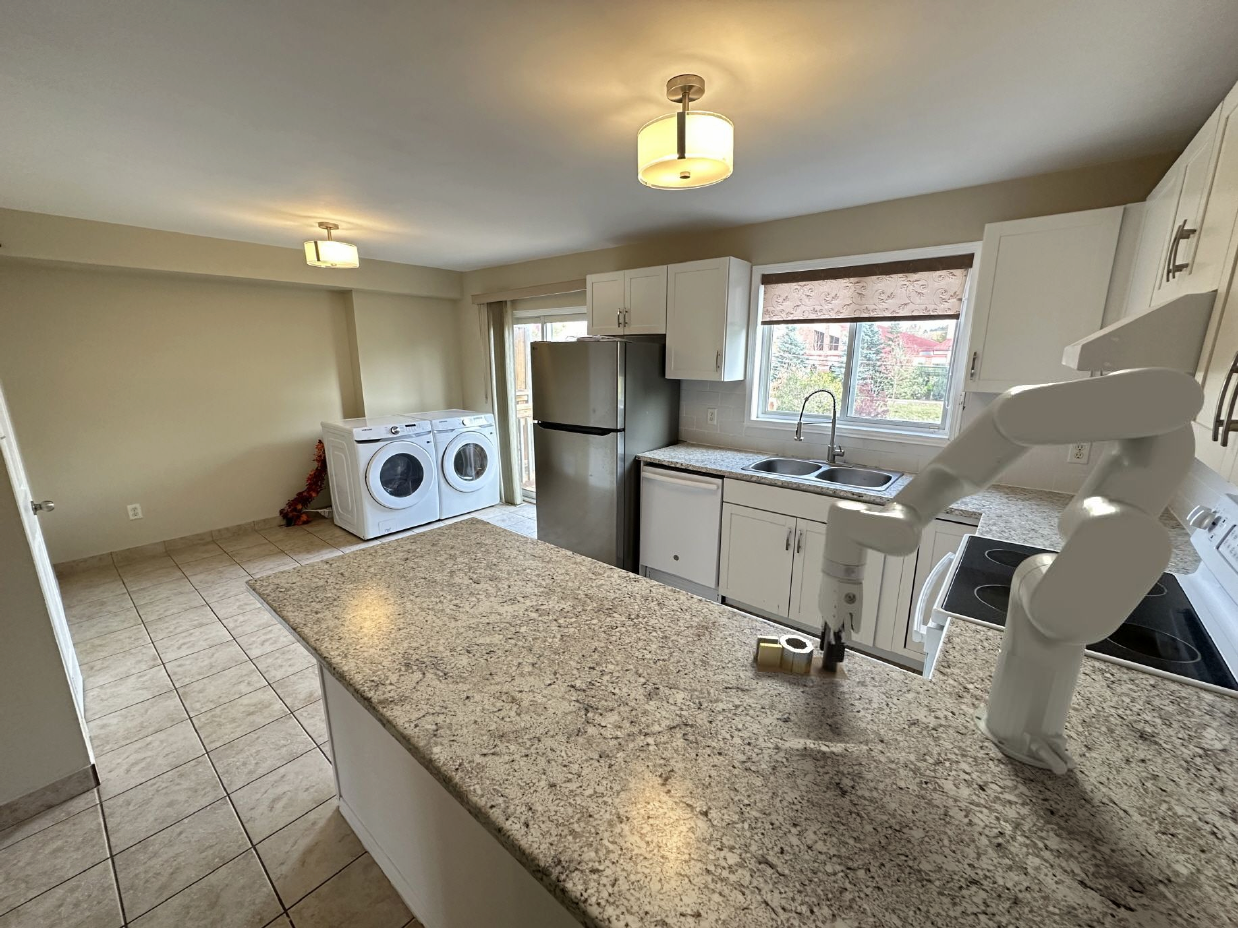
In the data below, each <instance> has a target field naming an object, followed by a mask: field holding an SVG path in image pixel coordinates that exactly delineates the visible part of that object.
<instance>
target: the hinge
mask: <svg viewBox="0 0 1238 928" xmlns="http://www.w3.org/2000/svg"><path fill="white" fill-rule="evenodd" d="M755 642H756V643H755V649H754V650H755V658H758V666H761V667H772V668H779V666H780V667H781V668H783V669H785V670H787V671H789V672H790V673H791V672H792V673H797V674H806V673H807V672H808V671H810V670H811V664H812V657H814V651H815V648H814V646H813V644H812V642H811V641H810V640H809V639H806V638H804V637H803V636H800V635H794V634H784V635H783V636H781V637H780V638H779V637H778V636H770V635H759V634H757V635H756V641H755Z"/></svg>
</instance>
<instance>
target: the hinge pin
mask: <svg viewBox="0 0 1238 928" xmlns="http://www.w3.org/2000/svg"><path fill="white" fill-rule="evenodd" d="M841 627H842V626H841ZM830 634H831V628H830V626H829V625H828V623H827V628H826V636H825V643H824V651H822V652H823V654H822V657H823V658H822V667H823V668H824V669H825V670H827V671H831V672H834V671H836V670H837V666H838V662H827V661H826V659H825V657H826V650H827V642H828V641H830ZM837 635H842V633H841V632H836V636H837Z"/></svg>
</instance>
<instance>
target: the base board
mask: <svg viewBox="0 0 1238 928" xmlns="http://www.w3.org/2000/svg"><path fill="white" fill-rule="evenodd" d="M751 653H752V656H753V659H754V662H755V665H756V668H757V671H758V672H764V673H773V674H774V673H775V674H784V675H785V674H787V675H795V676H805V677H819V678H829V679H840V680H850V678H849V676H848V674H847V673H846V670H845V669H844V668H843V667H842V665H841V663H838V666H837V670H836V671H834V672H831V671H827V670H825V669H824V668H823V667H822V658H823V656H813V657H812V664H811V670H810V671H808V672H807V673H806V674H797V673H792V672H791V673H790V672H789V671H787V670H785V669H783V668H781V667H780V666H779V668H772V667H761V666H758V658H755V651H753V650H752V651H751Z"/></svg>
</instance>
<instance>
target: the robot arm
mask: <svg viewBox="0 0 1238 928" xmlns="http://www.w3.org/2000/svg"><path fill="white" fill-rule="evenodd" d="M1205 397H1206V395H1205V392H1204V388H1203V386H1202V385H1201V384H1200V382H1199V381H1198V380H1197V379H1195V377H1194V376H1192V375H1190V374H1188V373H1186V372H1184V371H1182V370H1179V369H1176V368H1171V367H1161V366H1160V367H1159V366H1156V367H1155V366H1151V367H1136V368H1127V369H1122V370H1121V369H1120V370H1117V371H1114V372H1111V373H1109V374H1106V375H1100V376H1094V377H1087V378H1081V379H1075V380H1069V381H1067V380H1066V381H1061V382H1052V383H1043V384H1025V385H1023V384H1022V385H1017V386H1014V387H1012V388H1011V387H1010V388H1009V389H1007V390H1006V391H1005V390H1004V392H1002V393H1001V394H999V396H997V397H996V398H994V400H993V401H991V402H990V404H988V406H986V407H985V408H984V409H983V410H982V411H981V412H980V413H979V414H978V415H977V416H976V417H975V418H974V419H973V420H971V422H970V423H969V424H968V425H966V426H965V428H963V430H961V431H960V432H959V433H958V435H957V436H955V437H954V438H953V439H952V440H951V441H950V442H949V443H948V444H947V445H946V446H945V447H943V448H942V450H941V451H940V452H939V453H938V454H937V455H935V456H934V457H933V458H932V459H931V460H930V461H929V462H928V463H927V464H926V465H925V467H924V468H922V469H921V471H920V472H919V473H917V474H916V475H915V476H914V477H913V478H912V479H911V480H909V481H908V482H907V483H906V484H905V485H904V486H903V487H902V488H901V489H900V490H899V491H898V492H897V493H896V494H894V496H892V497H891V498H890V499H889V500H888V501H887V503H885V505H884V506H883V507H882V508H881V509H880V510H879V511H878V512H874V511H873V510H872V508H871V507H870V506H869V505H867V504H865V503H861V502H857V501H851V500H838V501H837V500H836V501H833V502H832V503H831V504H829V507H828V510H827V511H828V512H827V519H826V526H825V535H824V543H823V549H822V550H823V551H822V557H821V565H820V573H821V574H822V575H821V580H820V585H819V591H818V599H817V609H818V611H819V613H820V615H821V618H822V620H821V625H820V626H821V630H822V631H820V632H821V633H820V639H819V640H820V641H819V647H818V648H819V650H820V651H821V652H823V651H824V643H825V636H826V628H827V623H828V625H829V626H830V628H831V634H830V641H828V642H827V650H826V657H825V659H826V661H827V662H838V663H840V664H841V663H844V661H845V660H844V659H845V652H846V647H847V646H848V644H852V643H853V636H852V632H853V633H854V634H857V635H858V634H860V632H861V630H862V629H861V628H862V621H863V620H862V619H863V609H864V608H863V606H864V584H863V582H864V581H865V579H866V578H865V576H866V571H867V570H866V569H867V564H868V563H867V562H868V557H869V550H872V551H874V552H876V553H880V554H883V555H885V556H889V557H893V558H905V557H909V556H911V555H912V554H914V553H915V552H917V550H919V547H920V546H921V543H922V538H923V537H922V536H923V531H924V529H926V528H927V526H928V525H929V524H930V523H932V522H933V521H934V520H936V519H937V517H939V516H940V515H941V514H942V513H943V512H944V511H945V510H947V509H949V508H950V507H951V506H952V505H954V504H955V503H957V502H959V501H961V500H962V499H965V498H967V497H971V496H974V495H977V494H979V493H981V492H983V491H985V490H986V489H988V488H989V487H990V486H992V485H993V484H994V483H995V482H996V481H997V480H998V479H999V478H1001V477H1002V476H1003V475H1004V474H1005V473H1006V472H1007V471H1008V470H1009V469H1010V468H1012V467H1013V466H1014V465H1015V464H1016V463H1017V462H1018V461H1019V460H1021V459H1022V458H1023V457H1024V456H1026V455H1027V454H1028V453H1029V452H1030V451H1031V450H1033V449H1034V448H1035V447H1052V446H1067V445H1078V444H1079V445H1080V444H1086V443H1087V444H1088V443H1098V442H1105V445H1104V449H1103V450H1102V451H1103V452H1102V454H1101V456H1100V457H1099V459H1098V461H1097V463H1096V465H1095V466H1094V468H1093V470H1092V472H1091V473H1090V475H1089V476H1088V477H1087V478H1086V480H1085V481H1084V483H1083V484H1082V486H1081V487H1080V488H1079V489H1078V490H1077V493H1076V494H1075V496H1073V498H1072V499H1071V501H1070V502H1069V503H1068V505H1067V506H1066V508H1064V510H1063V511H1062V513H1061V514H1060V516H1059V518H1058V521H1057V526H1056V527H1057V532H1058V535H1059V537H1060V538H1061V540H1062V542H1063V544H1064V545H1063V546H1062V547H1061V549H1060V551H1059V552H1058V553H1055V552H1051V553H1050V552H1047V553H1046V552H1045V553H1044V552H1043V553H1038V554H1035V555H1031V556H1029V557H1027V558H1026V559H1024V560H1023V561H1022V562H1021V563H1020V564H1018V566H1017V567H1016V569H1015V571H1014V574H1013V576H1012V580H1011V584H1010V590H1009V591H1010V592H1009V599H1008V606H1007V607H1008V608H1007V615H1006V620H1005V625H1004V629H1003V634H1002V639H1001V641H1000V646H999V651H998V655H997V659H996V663H995V668H994V672H993V677H992V681H991V685H990V690H989V695H988V698H987V704H986V706H983V707H981V706H980V707H979V708H976V709H975V710H974V711H973V713H972V715H971V721H972V722H973V724H974V725H975V727H976V728H977V730H978V731H979V732H980V733H982V734H983V736H984V737H985V738H986V739H988V741H989V742H990V743H992V744H993V745H994V747H995V748H996V749H997V750H998V751H999V752H1000V753H1003V754H1004V755H1006V756H1008V757H1010V758H1012V759H1014V760H1016V761H1018V762H1021V763H1024V764H1026V765H1029V766H1033V767H1037V768H1040V769H1045V770H1051V771H1052V772H1053V774H1056V775H1059V776H1061V775H1064V774H1066V773H1067V772H1068V769H1074V768H1076V767H1077V765H1078V763H1077V761H1076V760H1074V758H1072V755H1073V754H1072V750H1071V749H1070V747H1069V746H1068V744H1067V743H1068V738H1067V737H1065V735H1063V734H1064V732H1065V731H1064V730H1065V726H1066V723H1067V719H1068V715H1069V711H1070V708H1071V704H1072V701H1073V697H1074V694H1075V693H1074V692H1075V690H1076V685H1077V682H1078V678H1079V674H1080V672H1081V668H1082V664H1083V661H1084V656H1085V652H1086V648H1087V645H1092V644H1096V643H1099V642H1101V641H1103V640H1105V639H1106V638H1108V637H1110V636H1111V635H1112V634H1113V633H1115V632H1116V631H1117V630H1118V629H1119V628H1120V626H1121V625H1123V623H1124V622H1125V621H1126V620H1127V619H1128V618H1129V616H1130V615H1132V613H1133V611H1134V610H1135V609H1136V608H1137V607H1138V606H1139V604H1140V603H1141V601H1143V599H1144V598H1145V597H1146V596H1147V595H1148V593H1150V591H1151V589H1152V588H1153V587H1154V586H1155V584H1156V583H1157V582H1158V581H1159V580H1160V578H1161V577H1162V575H1164V573H1165V572H1166V569H1167V568H1168V566H1169V563H1170V561H1171V558H1172V554H1173V541H1172V537H1171V534H1170V532H1169V531H1168V529H1167V528H1166V527H1165V526H1164V525H1163V523H1162V522H1161V521H1160V520H1159V518H1160V516H1161V515H1162V513H1163V512H1164V510H1165V509H1166V508H1167V506H1168V505H1169V504H1170V502H1171V501H1172V500H1173V498H1174V496H1175V495H1176V492H1177V491H1178V490H1179V489H1180V487H1181V486H1182V484H1183V483H1184V481H1185V480H1186V478H1187V477H1188V474H1189V472H1190V471H1191V468H1192V466H1193V463H1194V460H1195V456H1196V438H1195V437H1196V436H1195V433H1194V431H1195V430H1194V428H1193V424H1192V421H1193V420H1194V419H1196V417H1198V415H1199V414H1200V413H1201V411H1202V410H1203V407H1204V405H1205ZM841 626H842V627H841ZM836 632H841V633H842V635H837V636H836Z"/></svg>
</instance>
